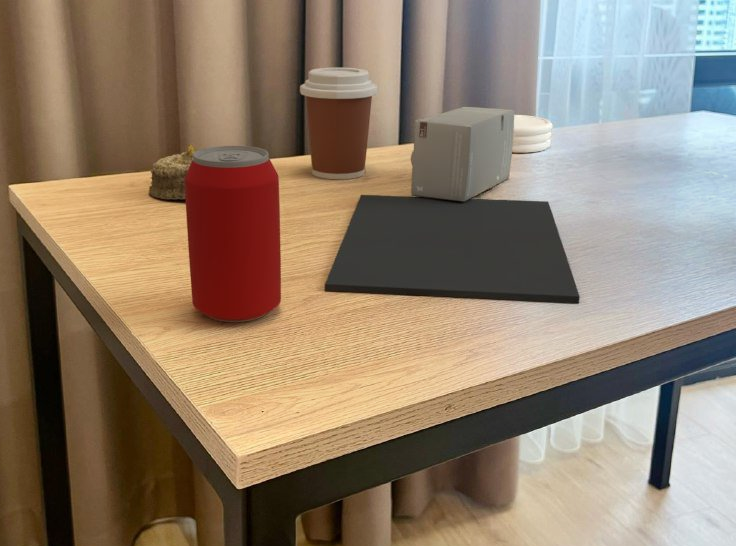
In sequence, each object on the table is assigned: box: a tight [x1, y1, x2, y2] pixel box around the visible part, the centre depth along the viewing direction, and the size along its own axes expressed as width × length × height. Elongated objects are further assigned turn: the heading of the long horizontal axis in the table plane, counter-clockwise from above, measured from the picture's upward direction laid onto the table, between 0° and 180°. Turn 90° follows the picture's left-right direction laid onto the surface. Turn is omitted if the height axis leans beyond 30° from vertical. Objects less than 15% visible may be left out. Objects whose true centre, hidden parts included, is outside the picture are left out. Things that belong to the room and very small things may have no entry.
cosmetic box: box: [410, 106, 515, 202], centre depth 100 cm, size 8×7×16 cm
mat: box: [324, 194, 581, 304], centre depth 84 cm, size 20×28×1 cm
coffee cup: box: [299, 67, 379, 180], centre depth 107 cm, size 9×9×12 cm
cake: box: [148, 144, 196, 201], centre depth 100 cm, size 10×10×5 cm
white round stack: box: [512, 114, 554, 154], centre depth 123 cm, size 10×10×4 cm
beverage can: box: [184, 145, 282, 323], centre depth 66 cm, size 7×7×12 cm
